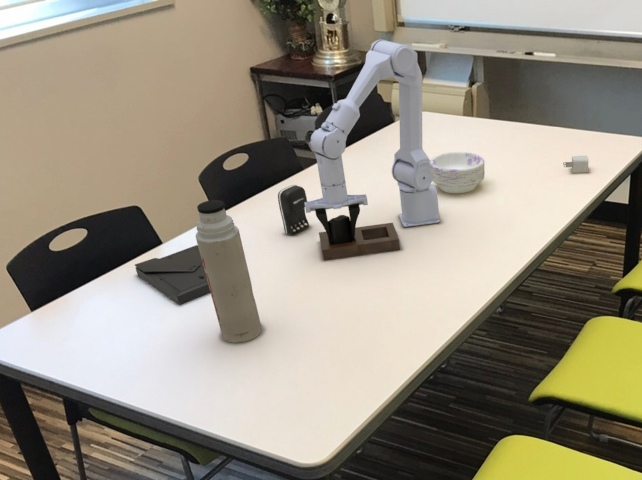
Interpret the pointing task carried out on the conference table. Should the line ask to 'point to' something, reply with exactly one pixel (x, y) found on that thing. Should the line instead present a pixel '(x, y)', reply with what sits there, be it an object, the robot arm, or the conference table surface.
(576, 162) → the usb wall charger
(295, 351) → the conference table surface
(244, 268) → the thermos bottle
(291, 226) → the battery charger
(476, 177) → the paper bowls
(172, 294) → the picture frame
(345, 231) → the ink cartridge
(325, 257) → the two-well brown tray
